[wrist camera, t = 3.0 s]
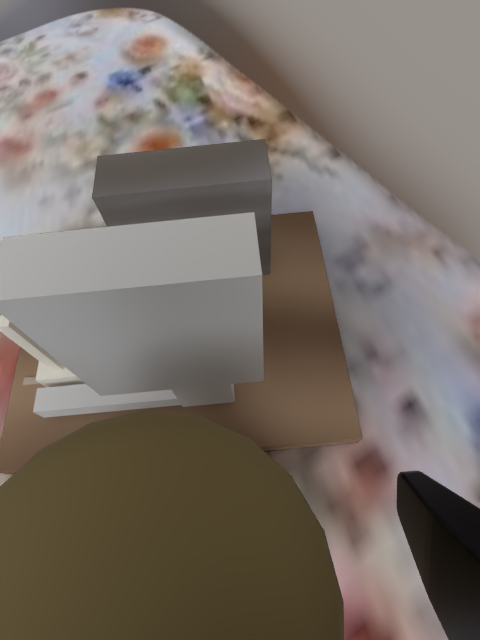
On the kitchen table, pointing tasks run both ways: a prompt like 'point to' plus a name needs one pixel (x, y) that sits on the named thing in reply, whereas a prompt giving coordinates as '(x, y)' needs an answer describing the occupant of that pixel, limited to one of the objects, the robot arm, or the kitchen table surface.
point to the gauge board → (277, 291)
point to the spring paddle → (140, 311)
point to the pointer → (40, 358)
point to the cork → (162, 539)
